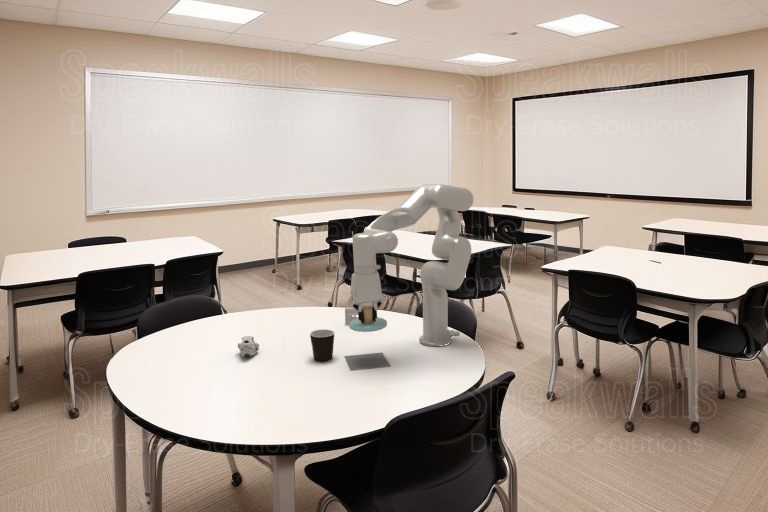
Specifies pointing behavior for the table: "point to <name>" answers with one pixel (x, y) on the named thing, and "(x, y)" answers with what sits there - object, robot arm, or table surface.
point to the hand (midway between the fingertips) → (367, 320)
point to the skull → (248, 346)
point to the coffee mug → (322, 344)
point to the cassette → (350, 315)
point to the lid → (368, 322)
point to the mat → (366, 361)
